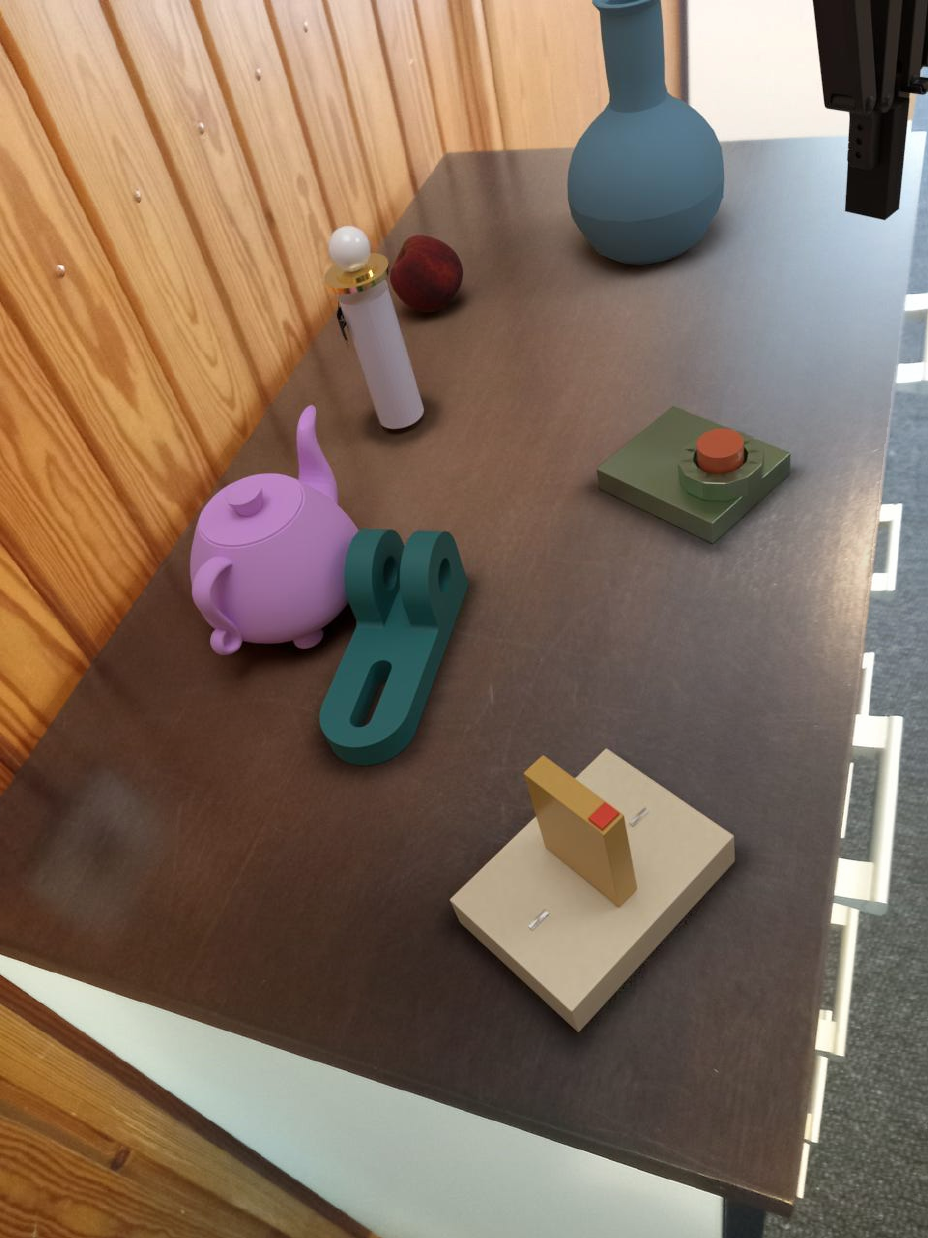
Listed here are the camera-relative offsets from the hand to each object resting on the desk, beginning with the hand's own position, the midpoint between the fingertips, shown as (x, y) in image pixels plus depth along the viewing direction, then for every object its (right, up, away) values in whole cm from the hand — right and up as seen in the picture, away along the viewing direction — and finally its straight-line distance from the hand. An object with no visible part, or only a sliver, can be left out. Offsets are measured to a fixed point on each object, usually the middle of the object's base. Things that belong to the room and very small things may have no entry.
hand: (871, 209), depth 63 cm
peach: (-28, +10, +52) cm, 59 cm away
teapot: (-38, -23, +24) cm, 51 cm away
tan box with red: (-17, -40, -2) cm, 43 cm away
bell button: (-5, -12, +19) cm, 23 cm away
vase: (-4, +17, +51) cm, 54 cm away
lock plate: (-17, -42, 0) cm, 45 cm away
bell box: (-6, -13, +23) cm, 27 cm away
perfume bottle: (-31, -6, +38) cm, 49 cm away
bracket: (-30, -29, +16) cm, 45 cm away
